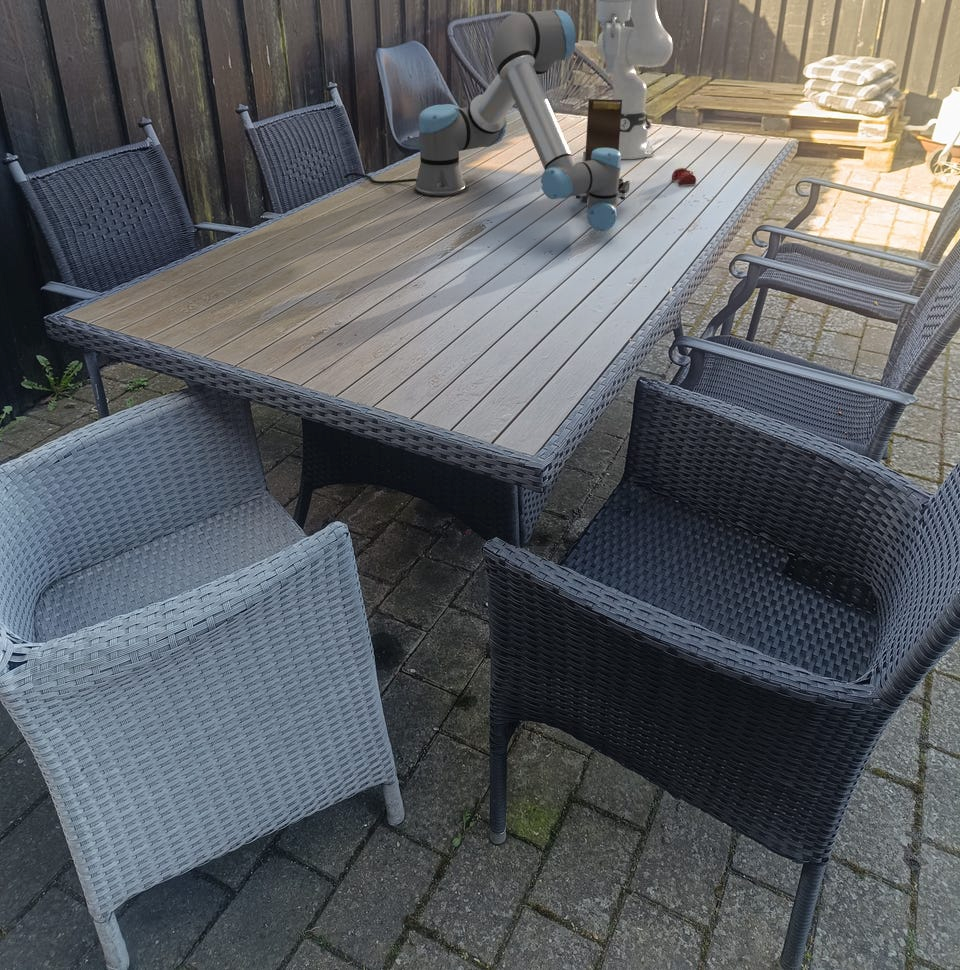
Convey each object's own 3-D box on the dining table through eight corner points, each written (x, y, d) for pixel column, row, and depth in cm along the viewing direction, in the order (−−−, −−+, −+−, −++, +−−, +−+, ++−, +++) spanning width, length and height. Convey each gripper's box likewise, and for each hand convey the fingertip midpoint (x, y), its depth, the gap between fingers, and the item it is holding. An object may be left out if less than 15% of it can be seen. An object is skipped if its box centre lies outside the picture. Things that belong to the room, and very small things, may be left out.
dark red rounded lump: (687, 164, 265) (698, 171, 259) (685, 177, 268) (697, 185, 262) (670, 166, 264) (681, 173, 258) (669, 179, 267) (680, 187, 261)
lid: (588, 99, 238) (590, 95, 229) (621, 100, 237) (624, 95, 229) (584, 163, 243) (586, 161, 235) (617, 164, 242) (619, 162, 234)
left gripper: (559, 213, 232) (561, 189, 250) (640, 215, 230) (635, 191, 249) (561, 185, 228) (562, 163, 246) (643, 187, 226) (638, 165, 244)
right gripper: (627, 17, 210) (621, 78, 218) (623, 7, 227) (619, 64, 235) (601, 17, 210) (597, 77, 219) (600, 7, 227) (596, 64, 235)
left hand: (599, 177), depth 247 cm, fingers closed on chest, 9 cm apart
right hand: (608, 70), depth 227 cm, fingers open, 5 cm apart
